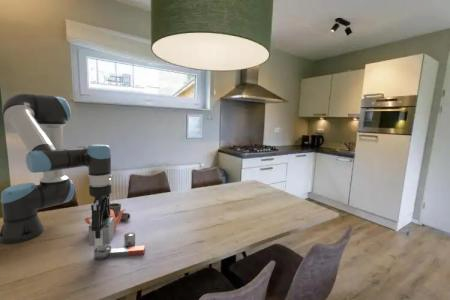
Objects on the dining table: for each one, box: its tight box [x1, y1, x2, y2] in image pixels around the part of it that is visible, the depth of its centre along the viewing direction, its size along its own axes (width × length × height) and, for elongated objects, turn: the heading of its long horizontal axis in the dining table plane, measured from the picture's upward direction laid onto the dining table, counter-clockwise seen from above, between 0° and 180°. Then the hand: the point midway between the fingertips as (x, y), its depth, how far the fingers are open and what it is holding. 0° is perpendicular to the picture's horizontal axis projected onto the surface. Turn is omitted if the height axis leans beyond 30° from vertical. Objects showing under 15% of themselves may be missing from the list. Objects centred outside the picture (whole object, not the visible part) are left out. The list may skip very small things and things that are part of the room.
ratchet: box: [93, 244, 146, 261], centre depth 91 cm, size 19×6×7 cm, turn 102°
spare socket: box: [123, 231, 136, 248], centre depth 98 cm, size 4×4×5 cm
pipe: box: [110, 202, 131, 221], centre depth 123 cm, size 6×13×8 cm, turn 77°
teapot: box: [84, 208, 127, 233], centre depth 110 cm, size 12×18×10 cm, turn 118°
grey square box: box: [88, 217, 115, 247], centre depth 89 cm, size 7×7×8 cm
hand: (102, 239), depth 90 cm, fingers closed on grey square box, 7 cm apart
